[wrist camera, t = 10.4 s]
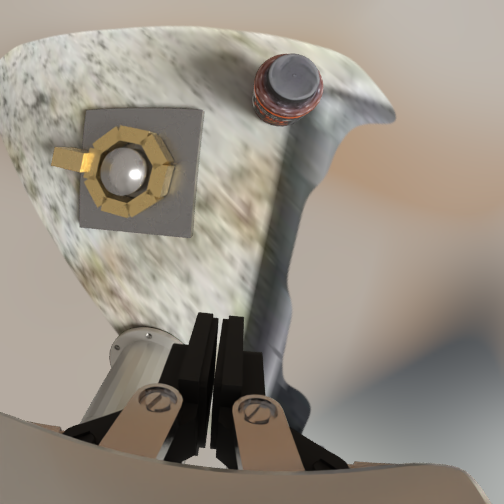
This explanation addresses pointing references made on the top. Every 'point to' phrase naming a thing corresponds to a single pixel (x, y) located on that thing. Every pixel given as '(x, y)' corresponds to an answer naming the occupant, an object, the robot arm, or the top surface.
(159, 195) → the segmented octagonal ring
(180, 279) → the top surface
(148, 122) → the spindle plate
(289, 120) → the supplement bottle
